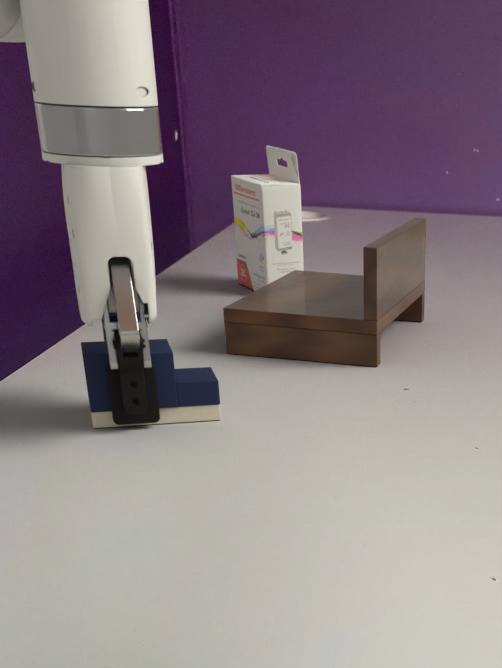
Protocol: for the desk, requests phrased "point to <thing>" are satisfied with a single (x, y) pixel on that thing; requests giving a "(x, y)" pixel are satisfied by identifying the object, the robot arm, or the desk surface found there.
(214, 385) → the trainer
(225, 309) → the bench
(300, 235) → the ink cartridge box
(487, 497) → the desk surface
